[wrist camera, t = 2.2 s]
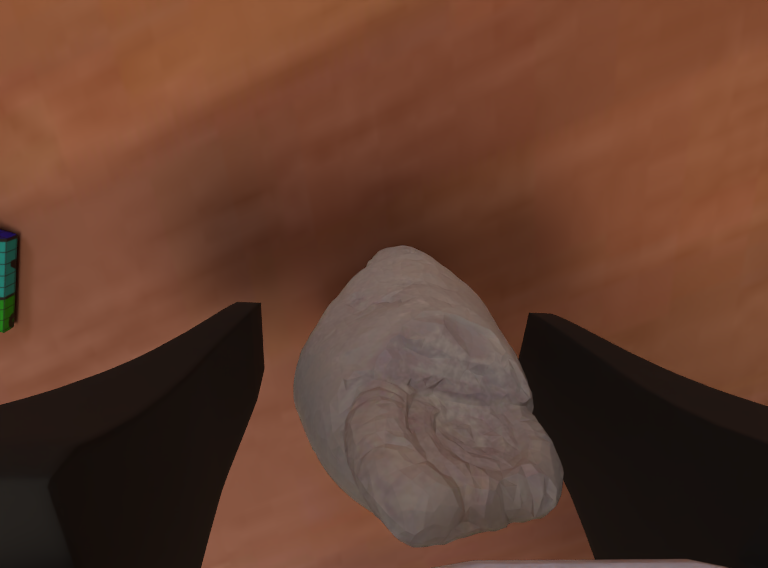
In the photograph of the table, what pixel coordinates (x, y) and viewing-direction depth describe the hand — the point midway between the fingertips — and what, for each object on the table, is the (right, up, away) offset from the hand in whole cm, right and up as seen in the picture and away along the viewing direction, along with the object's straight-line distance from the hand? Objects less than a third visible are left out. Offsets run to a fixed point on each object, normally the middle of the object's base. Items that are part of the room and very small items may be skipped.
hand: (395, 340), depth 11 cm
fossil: (0, +2, +4) cm, 4 cm away
